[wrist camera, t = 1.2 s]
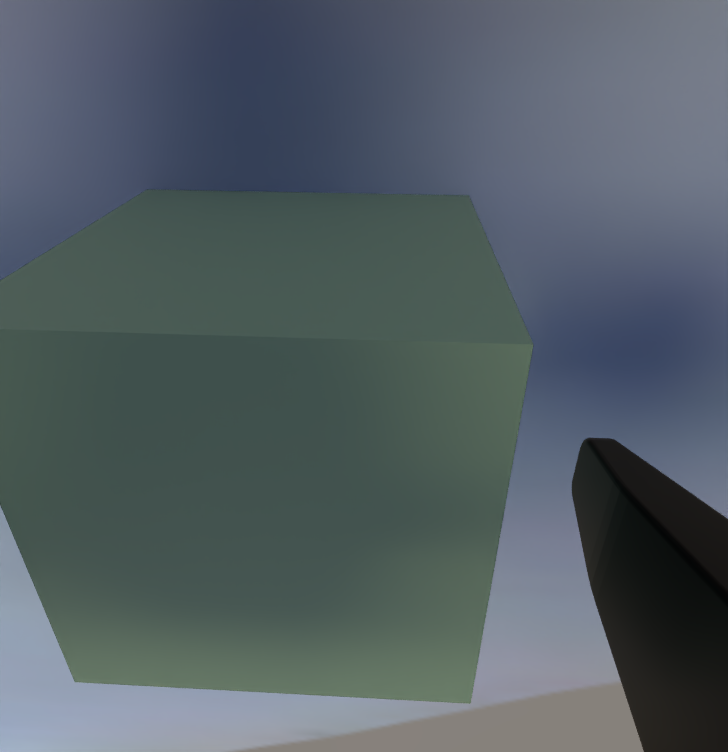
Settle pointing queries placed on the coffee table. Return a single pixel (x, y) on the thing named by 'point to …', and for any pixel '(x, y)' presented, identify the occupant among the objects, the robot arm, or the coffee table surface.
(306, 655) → the cube
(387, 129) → the coffee table surface
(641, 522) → the robot arm
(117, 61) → the coffee table surface
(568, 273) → the coffee table surface
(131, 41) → the coffee table surface
